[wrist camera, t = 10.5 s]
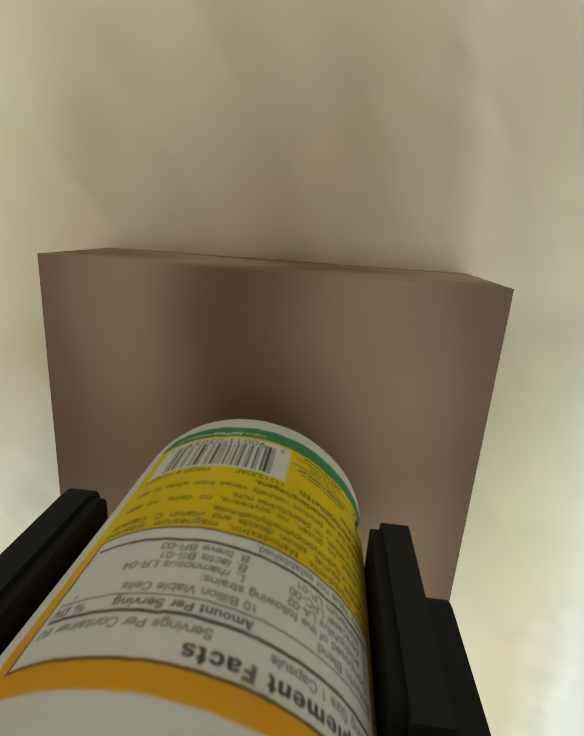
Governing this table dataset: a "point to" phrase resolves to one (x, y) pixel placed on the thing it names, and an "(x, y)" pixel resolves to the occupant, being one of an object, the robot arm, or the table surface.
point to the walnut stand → (279, 374)
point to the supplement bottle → (207, 603)
